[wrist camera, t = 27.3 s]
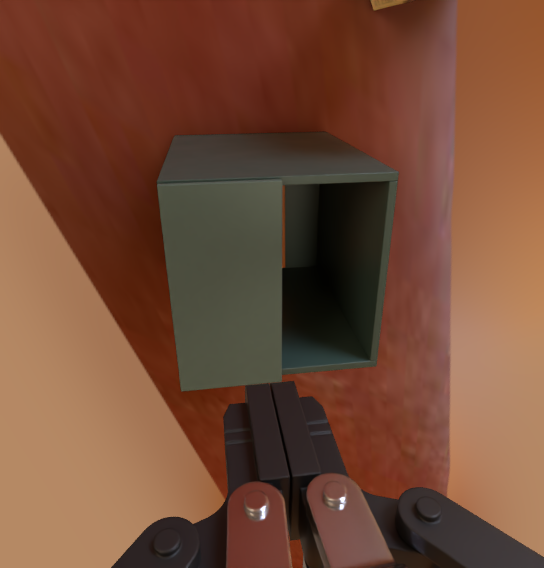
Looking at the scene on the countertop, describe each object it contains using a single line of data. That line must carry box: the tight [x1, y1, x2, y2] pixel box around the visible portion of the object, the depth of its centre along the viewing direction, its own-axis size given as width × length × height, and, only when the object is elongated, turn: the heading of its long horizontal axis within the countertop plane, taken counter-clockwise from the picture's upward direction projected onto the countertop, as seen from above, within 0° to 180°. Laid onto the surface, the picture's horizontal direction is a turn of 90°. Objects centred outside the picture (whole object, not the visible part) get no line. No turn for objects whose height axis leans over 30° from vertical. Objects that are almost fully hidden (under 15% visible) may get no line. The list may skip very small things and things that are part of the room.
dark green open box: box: [157, 132, 399, 375], centre depth 34 cm, size 13×13×16 cm
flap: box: [157, 179, 282, 391], centre depth 26 cm, size 6×13×1 cm, turn 0°
